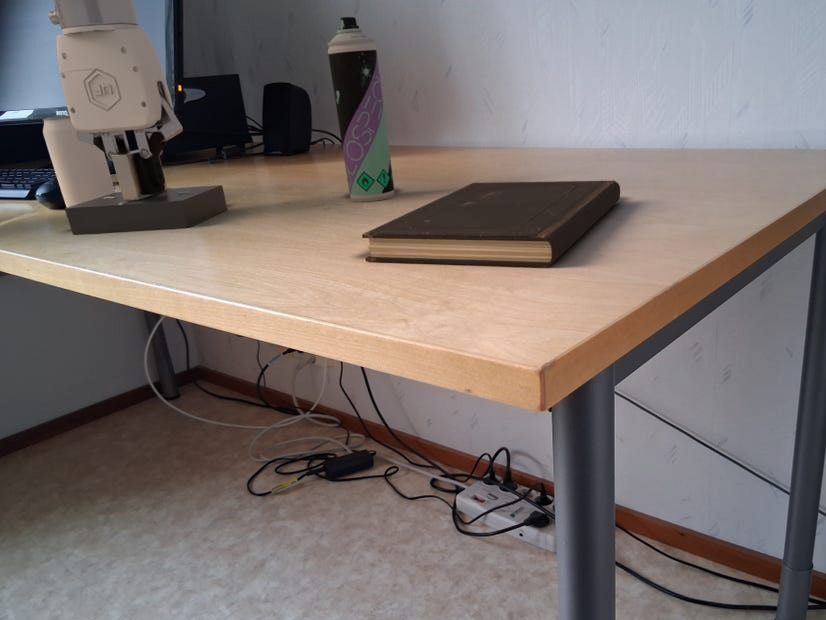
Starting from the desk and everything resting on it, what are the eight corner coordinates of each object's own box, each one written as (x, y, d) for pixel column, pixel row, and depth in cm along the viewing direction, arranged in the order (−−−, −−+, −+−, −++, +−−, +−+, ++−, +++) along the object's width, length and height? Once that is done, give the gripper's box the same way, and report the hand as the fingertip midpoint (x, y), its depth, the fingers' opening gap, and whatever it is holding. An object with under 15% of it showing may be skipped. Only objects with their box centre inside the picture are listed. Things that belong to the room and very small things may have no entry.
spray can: (343, 202, 84) (314, 19, 76) (360, 194, 89) (335, 20, 81) (385, 200, 82) (360, 13, 75) (401, 192, 87) (379, 15, 79)
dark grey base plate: (70, 235, 78) (61, 207, 77) (124, 215, 88) (117, 190, 87) (187, 228, 76) (180, 199, 75) (228, 209, 86) (223, 183, 85)
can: (112, 200, 101) (87, 114, 97) (123, 204, 97) (98, 113, 92) (63, 208, 98) (34, 119, 93) (72, 213, 93) (43, 119, 88)
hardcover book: (365, 261, 57) (361, 233, 56) (474, 204, 76) (472, 182, 75) (554, 268, 51) (553, 237, 50) (620, 203, 70) (620, 180, 69)
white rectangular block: (138, 200, 78) (125, 152, 76) (123, 201, 78) (110, 153, 76) (168, 190, 84) (156, 145, 82) (154, 191, 84) (142, 146, 82)
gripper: (6, 24, 71) (62, 204, 78) (149, 9, 69) (194, 195, 76) (54, 26, 78) (102, 192, 85) (186, 13, 76) (224, 183, 83)
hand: (145, 192), depth 81 cm, fingers closed on white rectangular block, 2 cm apart
